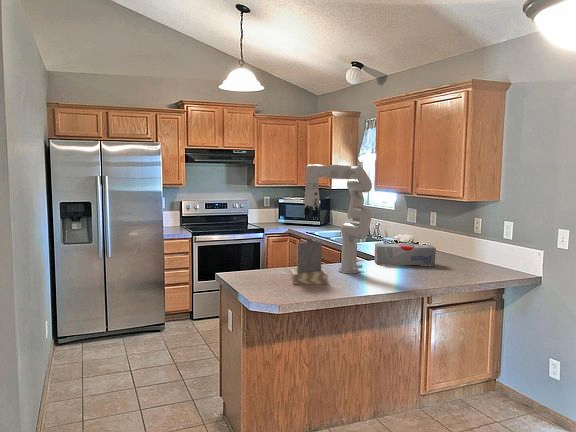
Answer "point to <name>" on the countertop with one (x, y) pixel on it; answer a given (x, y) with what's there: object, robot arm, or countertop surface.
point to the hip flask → (309, 256)
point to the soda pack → (404, 254)
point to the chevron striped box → (309, 277)
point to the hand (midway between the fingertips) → (310, 216)
